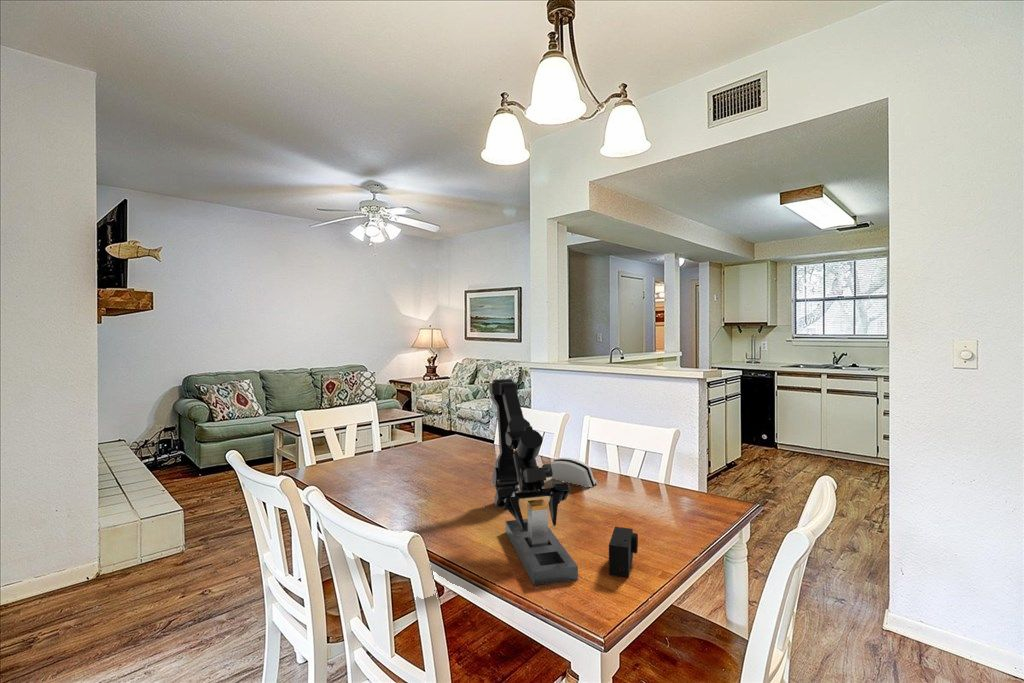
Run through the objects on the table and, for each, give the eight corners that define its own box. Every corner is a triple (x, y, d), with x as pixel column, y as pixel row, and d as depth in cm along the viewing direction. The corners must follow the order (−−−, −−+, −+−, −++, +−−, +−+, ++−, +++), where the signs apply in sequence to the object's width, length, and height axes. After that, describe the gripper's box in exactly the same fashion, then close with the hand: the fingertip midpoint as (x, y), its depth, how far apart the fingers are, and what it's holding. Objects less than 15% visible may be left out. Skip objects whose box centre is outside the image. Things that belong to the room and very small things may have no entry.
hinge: (598, 484, 167) (592, 460, 164) (591, 492, 163) (586, 467, 160) (559, 475, 178) (553, 452, 175) (552, 482, 174) (546, 459, 171)
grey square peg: (528, 550, 118) (527, 500, 117) (543, 548, 118) (542, 499, 118) (532, 558, 114) (531, 506, 113) (548, 556, 115) (547, 504, 114)
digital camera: (634, 579, 103) (633, 548, 103) (609, 575, 105) (608, 544, 105) (638, 557, 113) (637, 528, 113) (615, 554, 115) (614, 526, 115)
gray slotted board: (505, 532, 129) (505, 521, 128) (541, 528, 131) (540, 517, 131) (534, 586, 101) (533, 572, 101) (578, 579, 104) (577, 566, 103)
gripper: (496, 455, 117) (506, 516, 107) (567, 450, 121) (584, 508, 111) (490, 477, 125) (499, 536, 115) (557, 471, 129) (572, 528, 119)
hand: (539, 527), depth 115 cm, fingers open, 8 cm apart
